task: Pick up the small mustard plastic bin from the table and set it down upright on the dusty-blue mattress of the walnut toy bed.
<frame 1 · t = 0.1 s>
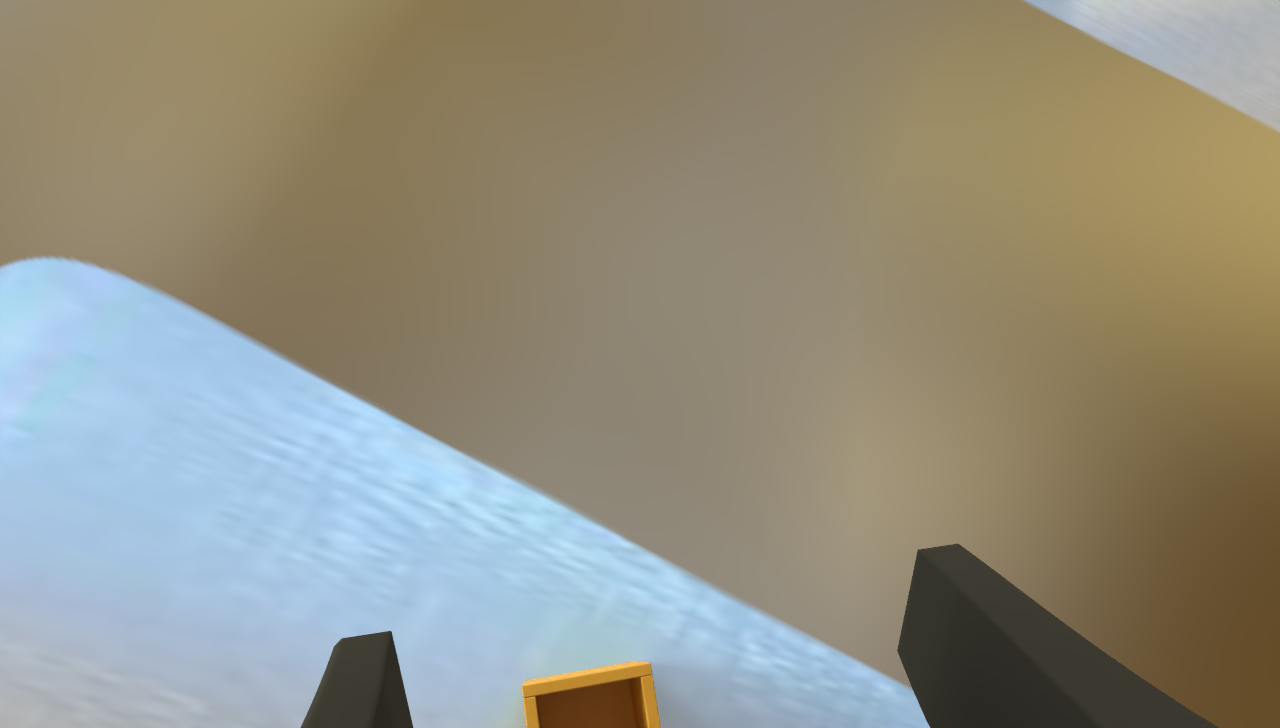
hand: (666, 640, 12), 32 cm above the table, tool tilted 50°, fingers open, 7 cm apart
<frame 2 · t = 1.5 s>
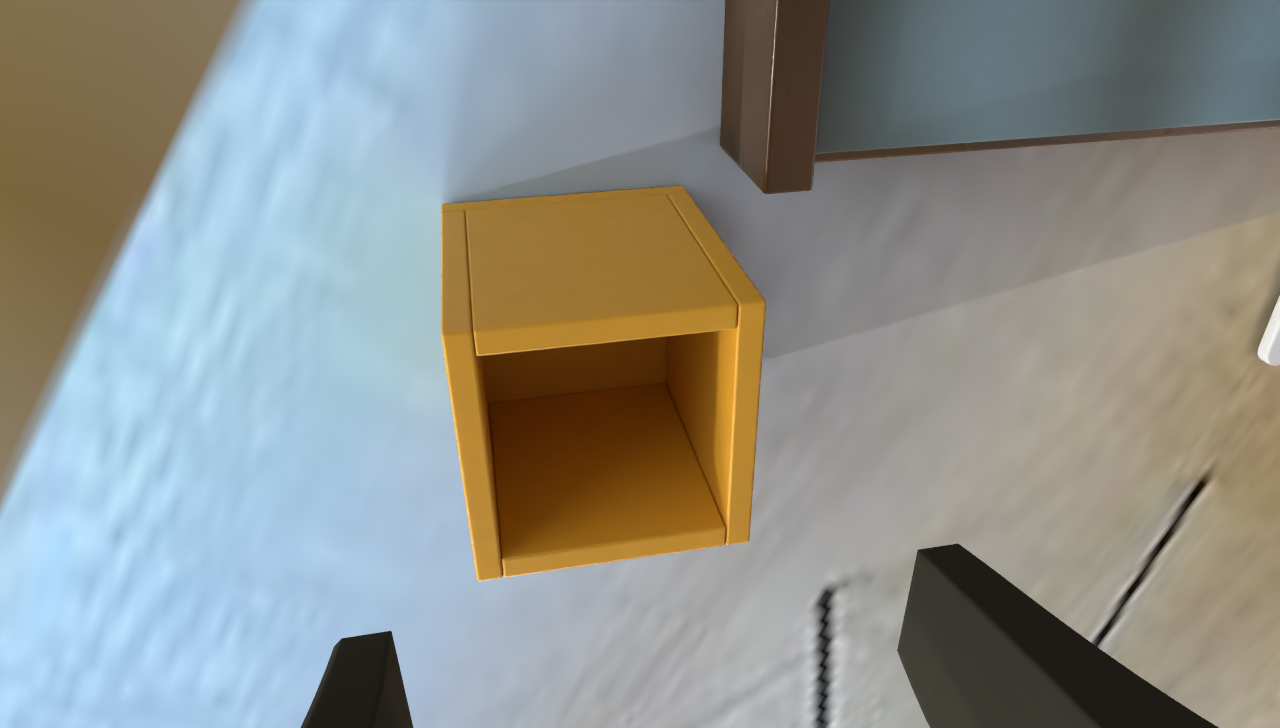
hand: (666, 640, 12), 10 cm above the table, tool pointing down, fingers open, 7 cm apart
small bin: (571, 302, 21), on the table
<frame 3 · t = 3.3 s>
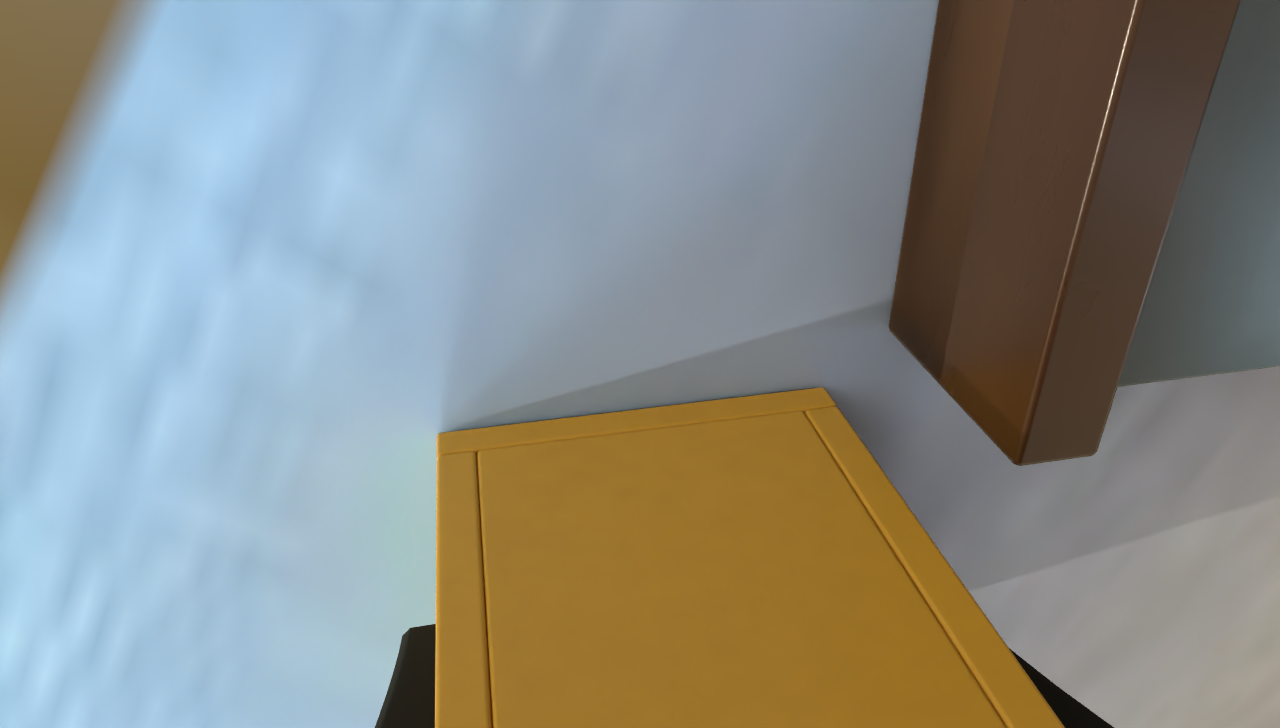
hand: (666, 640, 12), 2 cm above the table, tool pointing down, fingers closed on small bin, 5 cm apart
small bin: (639, 554, 13), on the table, touching gripper
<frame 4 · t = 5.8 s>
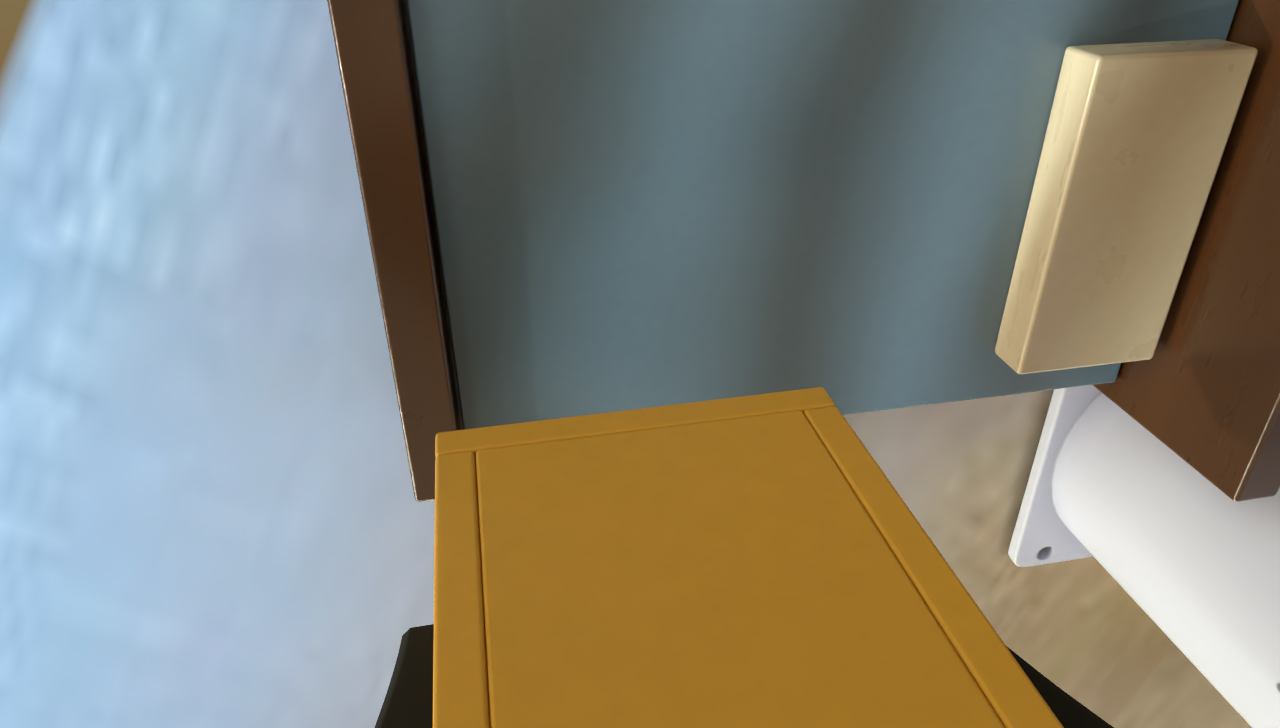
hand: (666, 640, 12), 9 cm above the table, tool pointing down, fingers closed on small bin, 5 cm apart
toy bed: (785, 181, 19), on the table
small bin: (638, 554, 13), point 8 cm above the table, touching gripper
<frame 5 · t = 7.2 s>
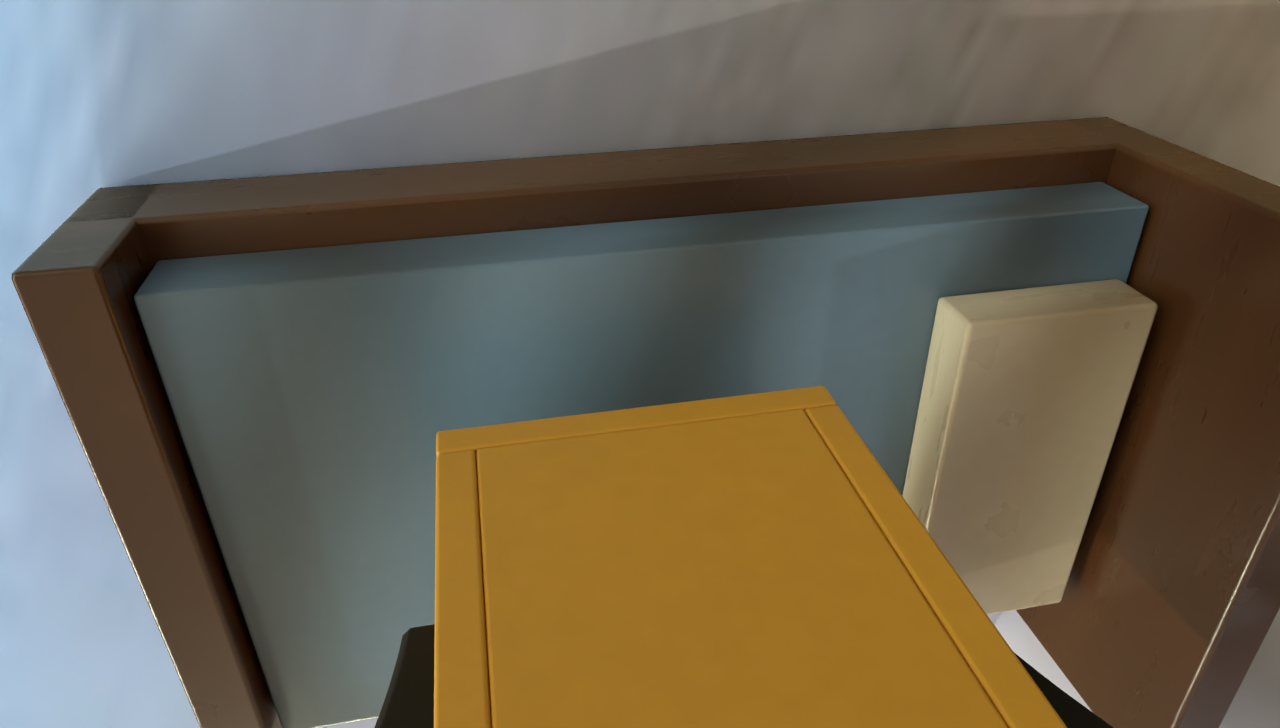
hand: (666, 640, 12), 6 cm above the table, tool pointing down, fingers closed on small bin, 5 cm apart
toy bed: (651, 400, 17), on the table
small bin: (639, 553, 13), point 4 cm above the table, touching gripper
when the fingers open (4 cm above the table, at t = 8.3 s): small bin stays where it is, resting on toy bed.
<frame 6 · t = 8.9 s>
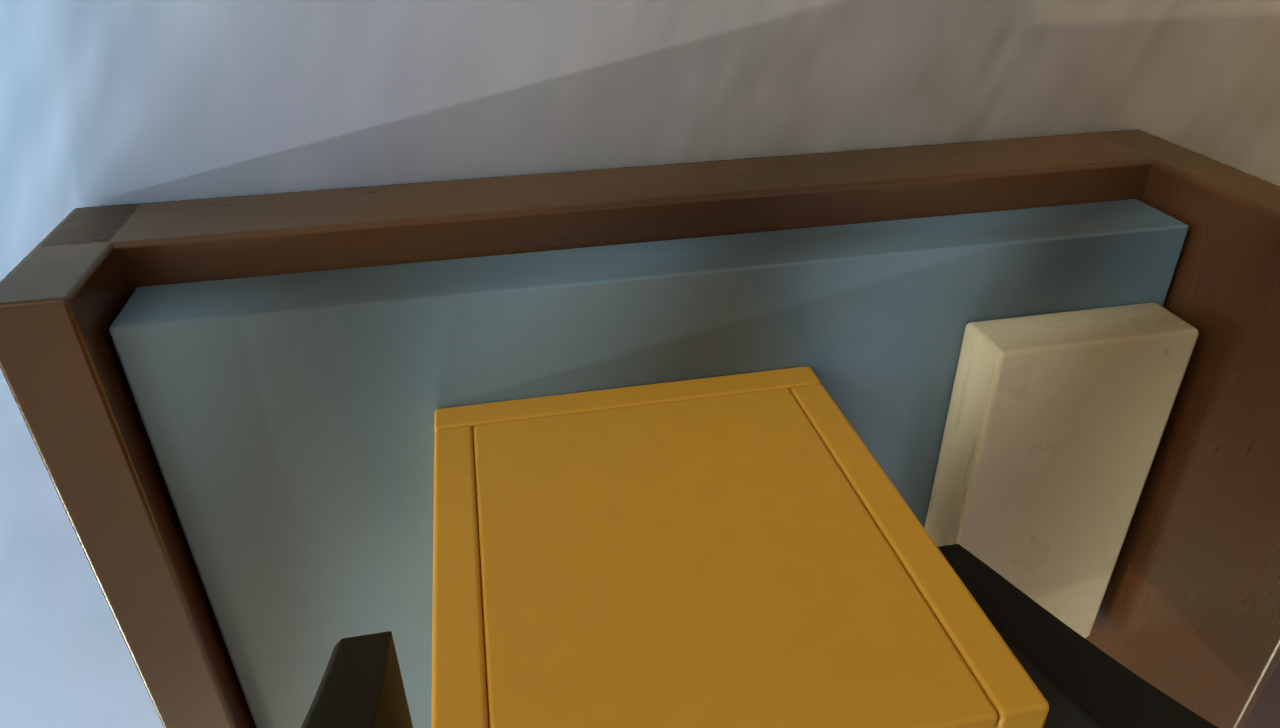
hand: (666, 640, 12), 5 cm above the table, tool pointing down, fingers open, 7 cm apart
toy bed: (659, 424, 16), on the table
small bin: (631, 530, 14), point 3 cm above the table, touching toy bed
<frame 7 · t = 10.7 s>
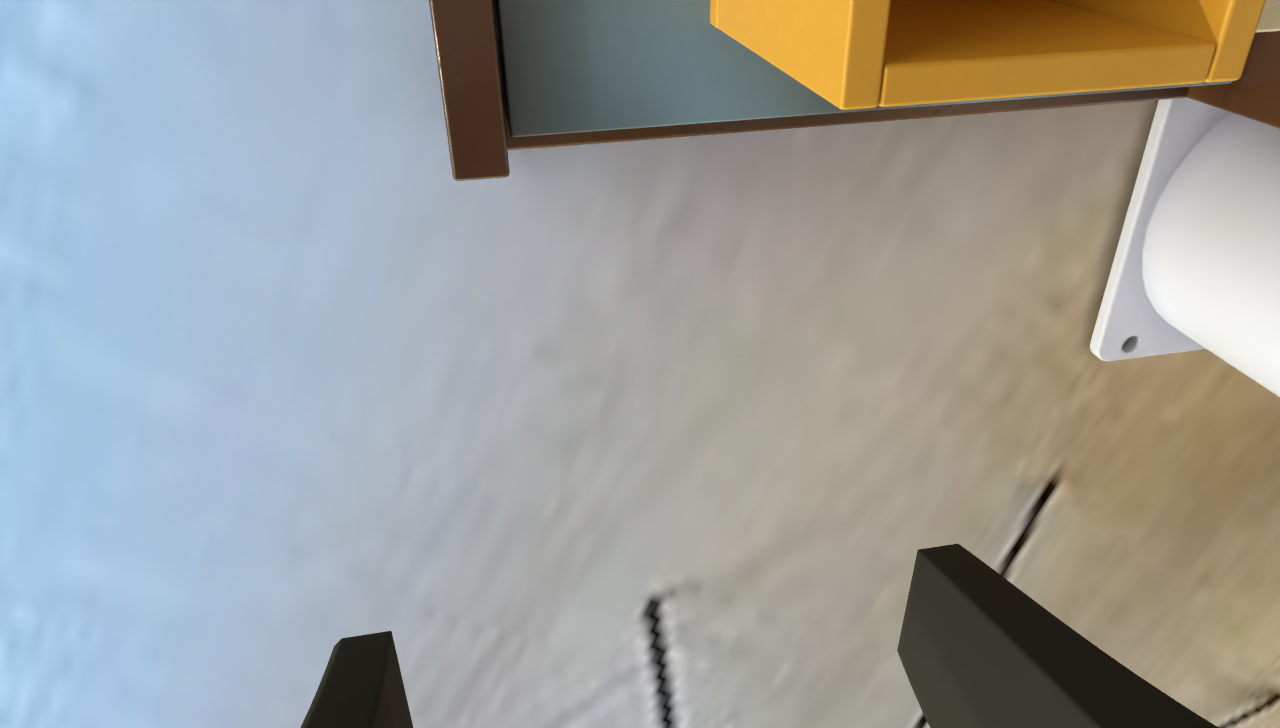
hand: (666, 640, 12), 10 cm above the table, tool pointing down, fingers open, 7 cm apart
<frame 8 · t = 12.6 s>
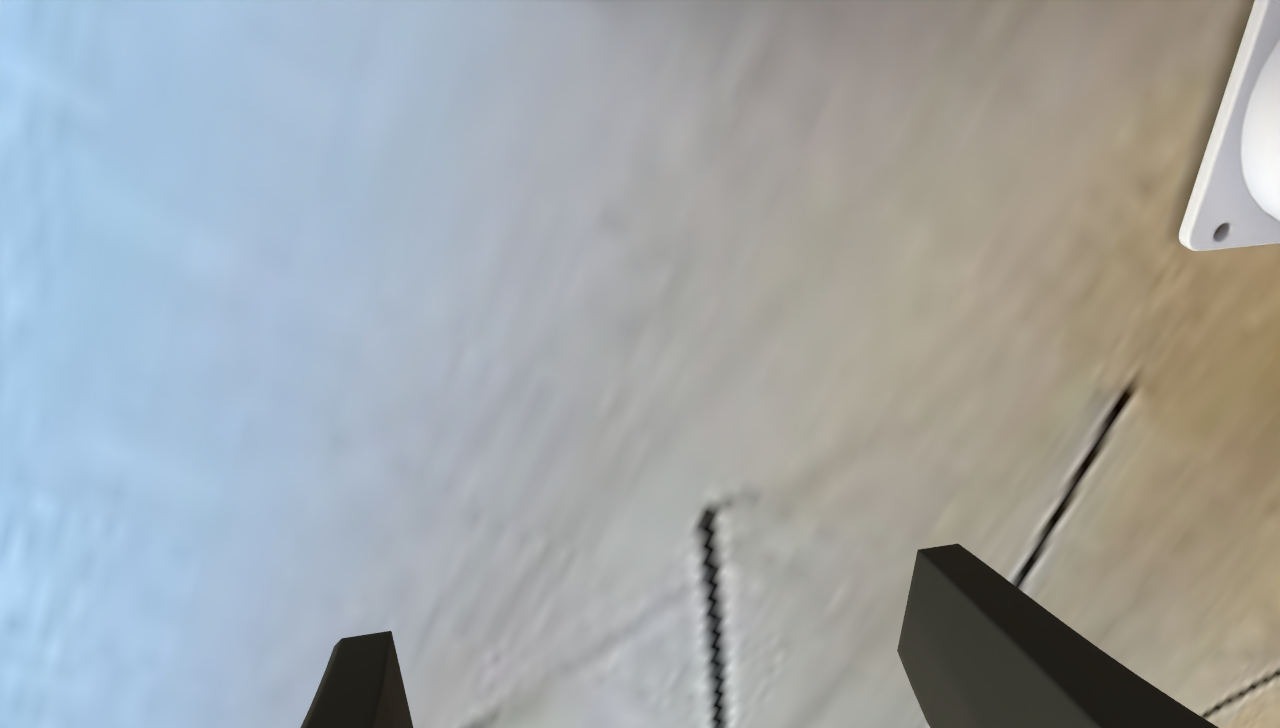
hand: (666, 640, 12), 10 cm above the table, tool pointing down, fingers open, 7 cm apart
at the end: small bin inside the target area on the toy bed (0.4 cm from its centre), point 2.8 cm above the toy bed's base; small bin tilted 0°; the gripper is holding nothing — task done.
